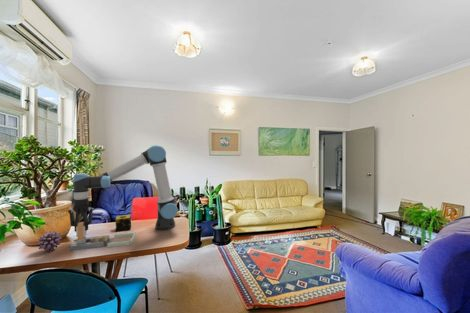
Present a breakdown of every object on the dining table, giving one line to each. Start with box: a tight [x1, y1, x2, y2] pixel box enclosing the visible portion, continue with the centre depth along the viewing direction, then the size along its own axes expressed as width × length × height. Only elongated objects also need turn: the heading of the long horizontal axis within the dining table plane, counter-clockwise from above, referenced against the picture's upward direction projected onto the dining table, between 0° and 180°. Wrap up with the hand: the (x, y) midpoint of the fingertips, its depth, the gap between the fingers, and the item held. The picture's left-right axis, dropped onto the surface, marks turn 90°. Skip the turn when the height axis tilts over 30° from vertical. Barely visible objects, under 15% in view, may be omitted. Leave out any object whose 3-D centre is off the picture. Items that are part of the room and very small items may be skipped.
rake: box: [76, 221, 87, 244], centre depth 131 cm, size 3×6×13 cm, turn 16°
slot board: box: [69, 234, 115, 252], centre depth 132 cm, size 20×14×4 cm
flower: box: [36, 230, 64, 253], centre depth 126 cm, size 12×12×12 cm
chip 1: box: [91, 235, 101, 242], centre depth 133 cm, size 4×4×4 cm
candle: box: [115, 214, 132, 233], centre depth 162 cm, size 10×10×10 cm
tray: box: [107, 232, 137, 248], centre depth 137 cm, size 13×16×3 cm
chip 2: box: [99, 234, 108, 244], centre depth 134 cm, size 4×4×4 cm
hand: (81, 236), depth 131 cm, fingers closed on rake, 3 cm apart
